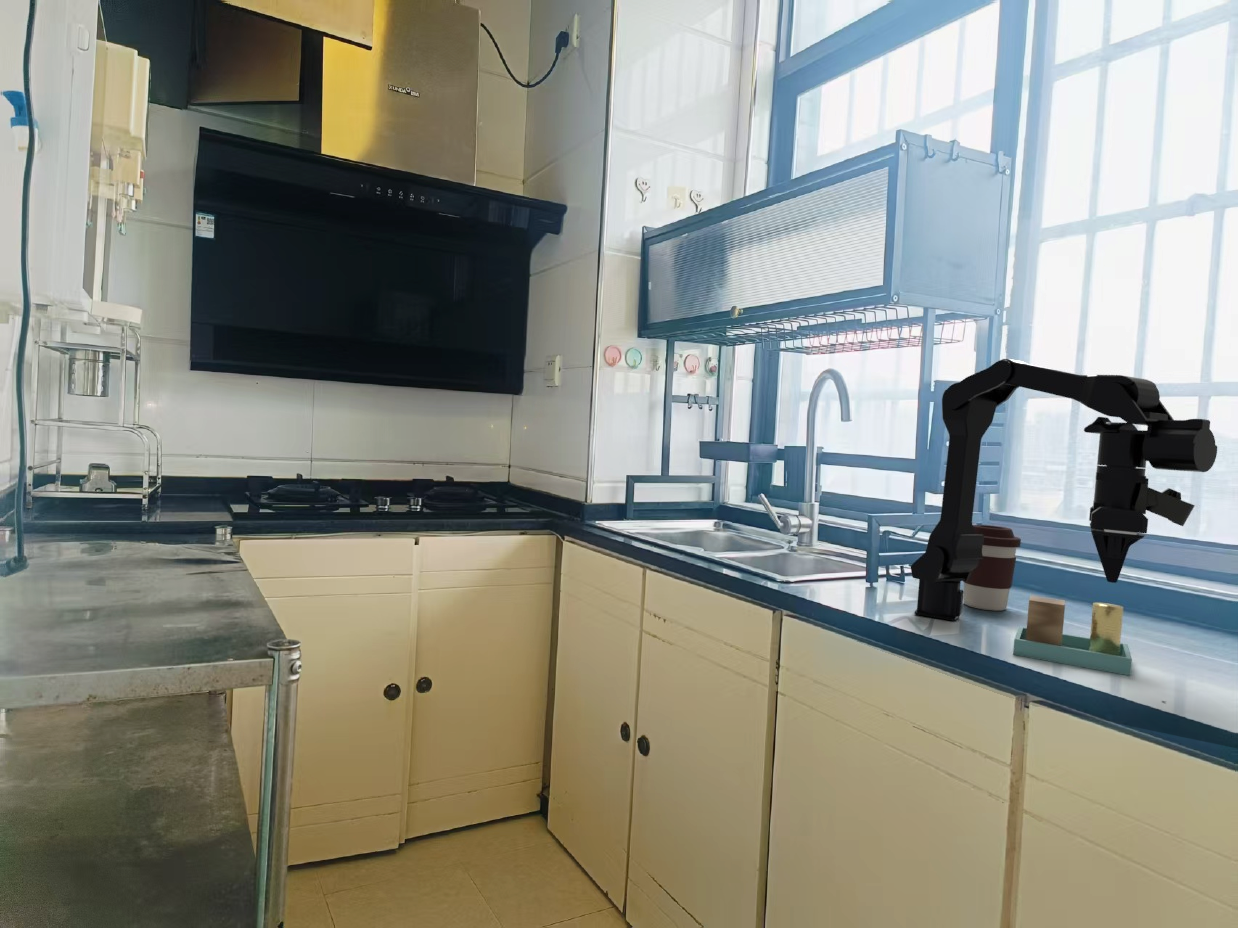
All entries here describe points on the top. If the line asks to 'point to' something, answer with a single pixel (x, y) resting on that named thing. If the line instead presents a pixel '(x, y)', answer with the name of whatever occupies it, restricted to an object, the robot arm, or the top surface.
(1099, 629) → the brass peg
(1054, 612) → the walnut block
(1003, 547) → the coffee cup
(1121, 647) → the parts tray
